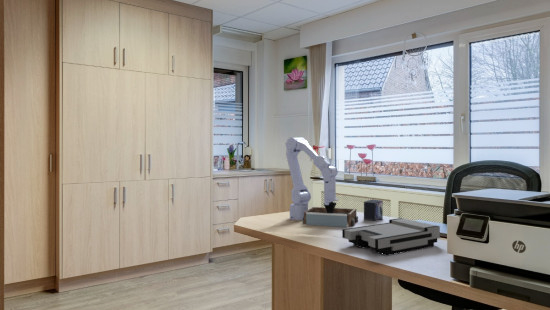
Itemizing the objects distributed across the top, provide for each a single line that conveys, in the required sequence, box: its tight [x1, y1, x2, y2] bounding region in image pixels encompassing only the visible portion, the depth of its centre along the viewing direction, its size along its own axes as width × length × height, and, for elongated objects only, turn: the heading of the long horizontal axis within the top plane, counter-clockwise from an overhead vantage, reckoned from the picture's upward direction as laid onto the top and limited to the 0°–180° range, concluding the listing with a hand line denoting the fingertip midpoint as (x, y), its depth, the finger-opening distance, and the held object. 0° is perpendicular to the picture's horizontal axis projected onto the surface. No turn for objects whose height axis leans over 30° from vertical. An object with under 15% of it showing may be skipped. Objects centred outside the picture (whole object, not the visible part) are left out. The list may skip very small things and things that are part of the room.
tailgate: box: [305, 212, 348, 228], centre depth 207 cm, size 20×1×6 cm, turn 69°
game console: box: [341, 217, 441, 256], centre depth 170 cm, size 21×32×8 cm, turn 119°
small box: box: [363, 198, 384, 222], centre depth 222 cm, size 11×6×10 cm, turn 143°
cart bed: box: [302, 206, 359, 228], centre depth 215 cm, size 25×16×7 cm, turn 69°
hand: (330, 217), depth 214 cm, fingers closed
